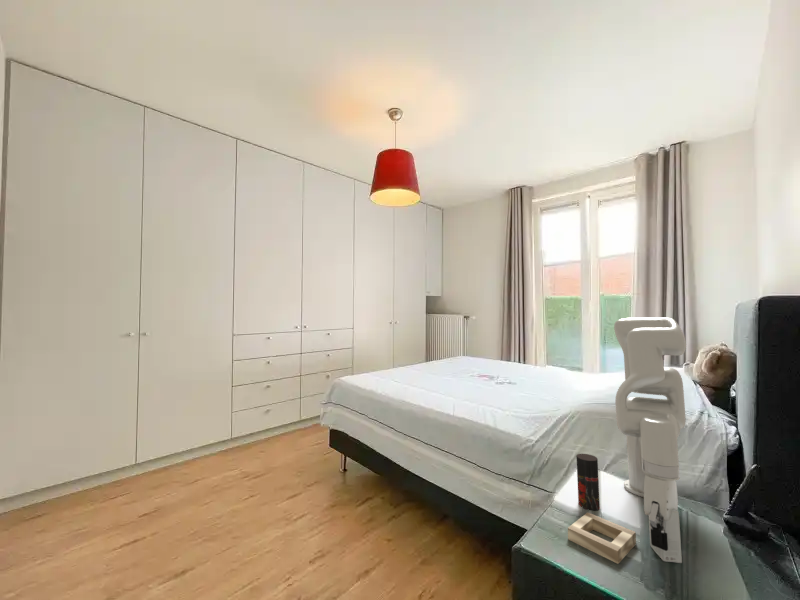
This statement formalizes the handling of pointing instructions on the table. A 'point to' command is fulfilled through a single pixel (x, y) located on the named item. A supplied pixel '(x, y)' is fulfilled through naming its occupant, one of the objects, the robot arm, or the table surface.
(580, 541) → the holder
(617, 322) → the robot arm
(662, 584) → the table surface
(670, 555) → the skincare box
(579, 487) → the deodorant
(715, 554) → the table surface
